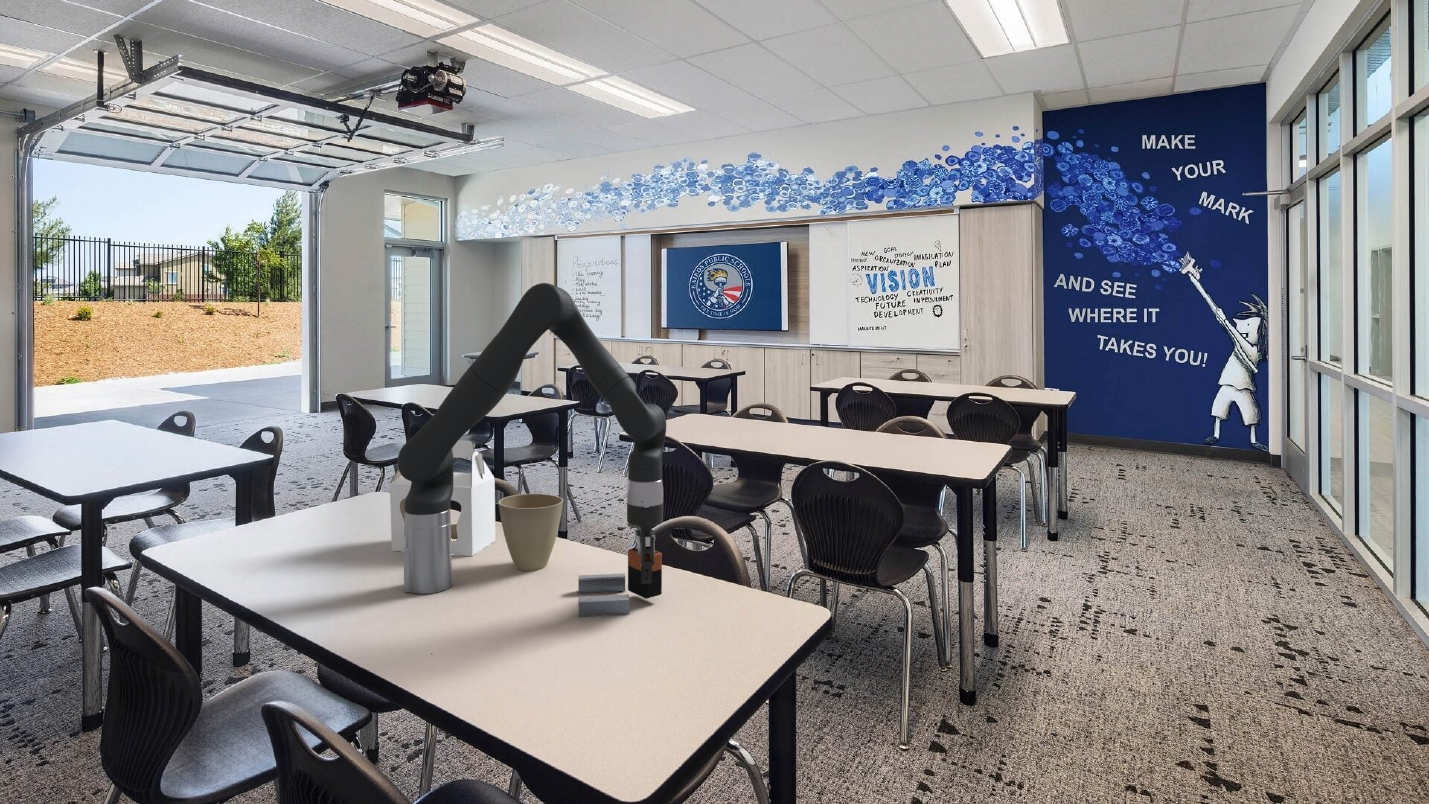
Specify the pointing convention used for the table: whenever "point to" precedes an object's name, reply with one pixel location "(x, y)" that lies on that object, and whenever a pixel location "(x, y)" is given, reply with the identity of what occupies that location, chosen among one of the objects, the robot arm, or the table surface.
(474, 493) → the gable box
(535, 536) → the plant pot
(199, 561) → the table surface
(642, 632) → the table surface
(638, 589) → the battery
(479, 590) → the table surface
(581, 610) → the housing
